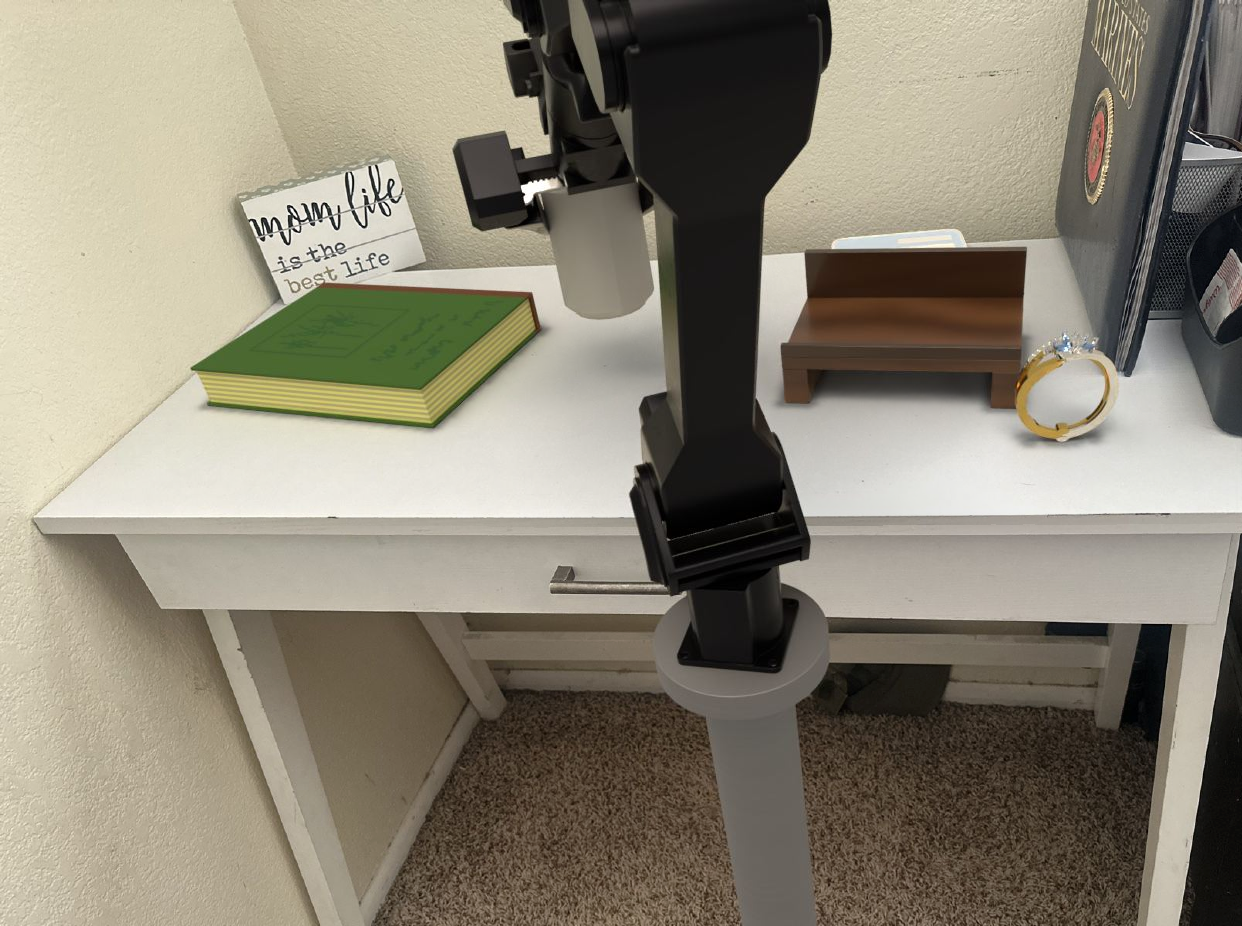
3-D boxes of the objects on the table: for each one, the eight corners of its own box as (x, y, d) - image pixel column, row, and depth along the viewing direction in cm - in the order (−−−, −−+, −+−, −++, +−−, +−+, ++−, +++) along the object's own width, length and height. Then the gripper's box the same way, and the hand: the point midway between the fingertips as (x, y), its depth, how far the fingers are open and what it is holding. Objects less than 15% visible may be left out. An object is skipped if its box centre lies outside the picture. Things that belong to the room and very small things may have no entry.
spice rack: (1017, 408, 77) (1024, 309, 72) (784, 402, 81) (776, 309, 77) (1020, 338, 86) (1027, 246, 81) (811, 336, 91) (805, 249, 86)
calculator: (838, 337, 90) (837, 316, 89) (830, 253, 106) (829, 235, 105) (991, 325, 89) (992, 304, 88) (960, 242, 105) (961, 224, 103)
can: (640, 280, 88) (615, 135, 81) (668, 309, 82) (644, 155, 75) (556, 301, 86) (523, 154, 79) (579, 332, 80) (546, 176, 73)
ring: (1106, 424, 74) (1120, 322, 69) (1116, 448, 71) (1130, 343, 67) (1008, 429, 75) (1015, 328, 70) (1014, 452, 72) (1021, 349, 67)
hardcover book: (540, 329, 98) (532, 292, 96) (433, 427, 84) (420, 387, 82) (330, 316, 106) (318, 282, 104) (201, 404, 92) (183, 367, 90)
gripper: (694, -31, 69) (678, 109, 84) (416, 13, 65) (452, 151, 81) (740, 116, 67) (715, 232, 82) (457, 169, 64) (486, 279, 79)
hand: (593, 220), depth 81 cm, fingers closed on can, 7 cm apart
